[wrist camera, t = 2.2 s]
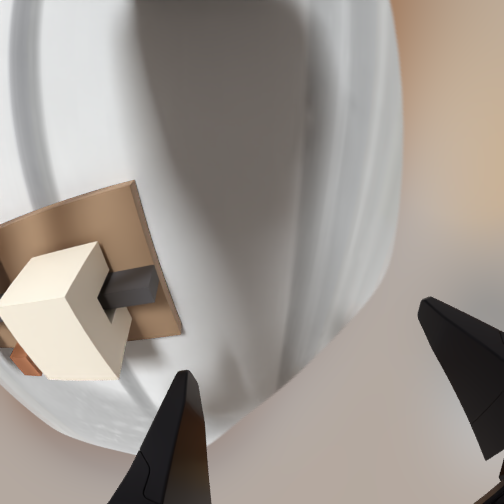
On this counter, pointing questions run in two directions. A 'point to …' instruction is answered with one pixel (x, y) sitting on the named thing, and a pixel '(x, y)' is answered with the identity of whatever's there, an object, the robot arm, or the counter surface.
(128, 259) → the board
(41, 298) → the sleeve
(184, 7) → the counter surface
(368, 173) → the counter surface
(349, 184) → the counter surface
